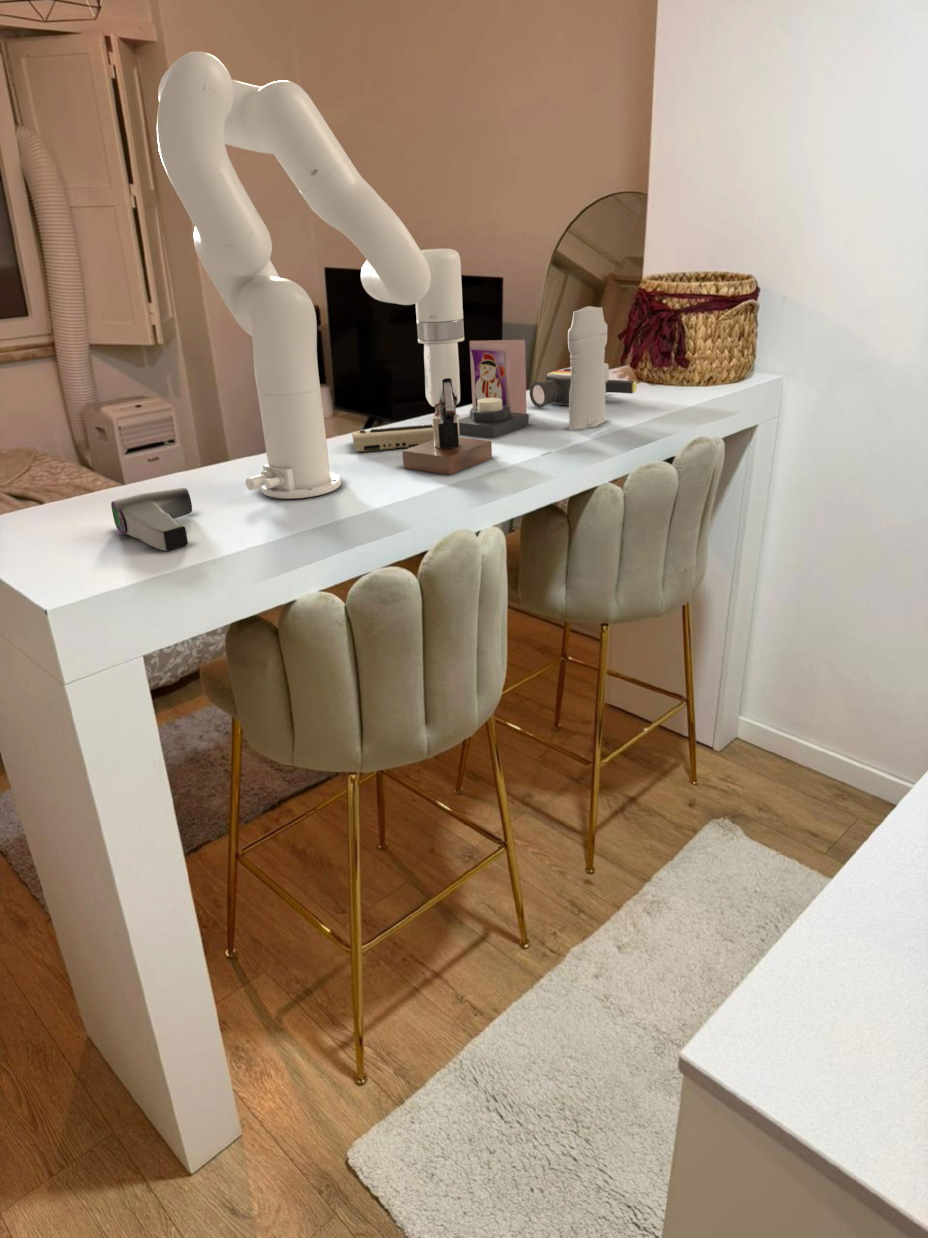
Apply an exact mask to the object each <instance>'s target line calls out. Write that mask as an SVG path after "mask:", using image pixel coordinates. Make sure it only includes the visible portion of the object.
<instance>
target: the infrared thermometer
mask: <svg viewBox="0 0 928 1238" xmlns="http://www.w3.org/2000/svg"><path fill="white" fill-rule="evenodd" d="M110 506H111V512H112V516H113V517H112V518H113V521H114V522H113V523H114V525H115V526H116V530H117V531H118V532H119V533H120V534H122V535H129V536H130V537H133V538H136V539H139V541H140V540H141V542H143V543H145V544H146V545H148V546H151V547H153V548H155V549H157V550H160V551H164V552H168V551H169V552H170V551H172V550H176V549H179V548H182V547H185V546H187V545H188V544H189V541H188V535H187V529H186V526H184V525H181V524H179V523H178V522H176V520H175V519H179V518H181V517H184V516H187V515H189V514H191V513H192V512H193V504H192V499H191V495H190V492H189V490H188V488H185V487H181V488H180V487H179V488H173V489H165V490H157V491H149V492H143V493H139V494H135V495H130V496H127V497H123V498H118V499H115V500H112V501H111V503H110Z"/></svg>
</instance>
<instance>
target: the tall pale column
mask: <svg viewBox="0 0 928 1238" xmlns="http://www.w3.org/2000/svg"><path fill="white" fill-rule="evenodd" d="M603 310H604V309H603V307H597V306H593V305H590V306H589V305H588V306H584V307H582V308H580V309H577V310H575V311H573V312H572V313H573V314H572V320H571V326H570V328H568V330H567V348H568V351H569V354H570V355H569V359H570V360H569V362H570V366H569V367H571V380H570V381H571V386H570V391H569V405H568V429H569V431H577V430H582V429H583V430H584V429H586V428H595V427H597V426H598V425H600V424H603V423H605V422H606V394H605V381H604V363H605V361H606V360H605V356H606V354H605V353H606V346H607V343H608V324H607V323H606V321H605V318H604V312H603Z"/></svg>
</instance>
